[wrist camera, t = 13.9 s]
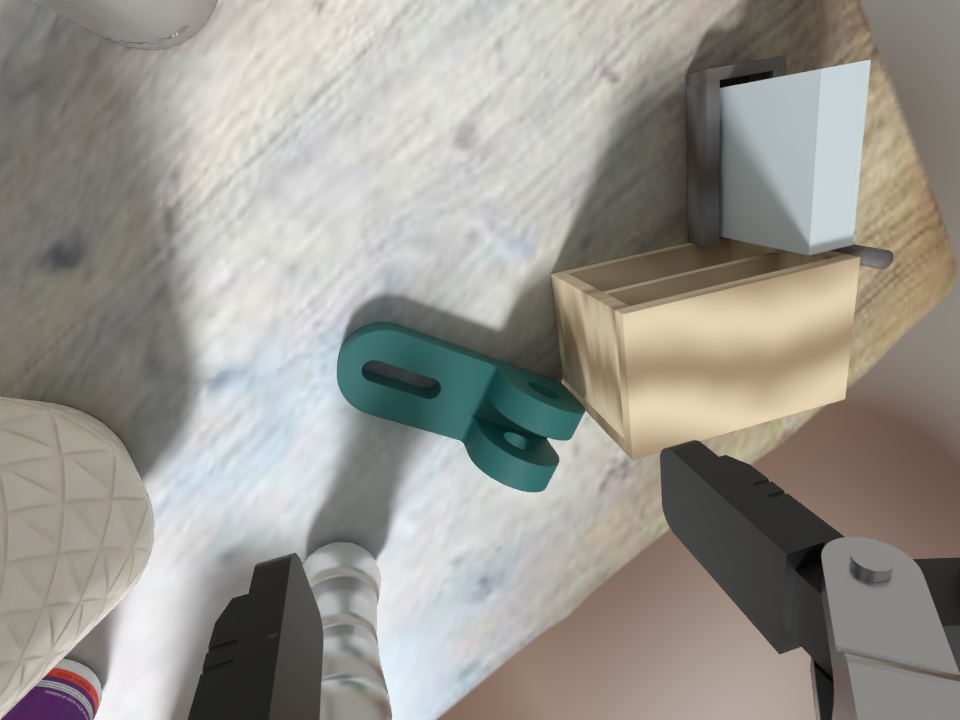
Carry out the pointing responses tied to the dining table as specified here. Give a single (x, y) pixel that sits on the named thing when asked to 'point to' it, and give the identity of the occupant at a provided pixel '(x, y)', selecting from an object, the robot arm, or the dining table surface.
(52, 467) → the vase
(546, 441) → the bracket
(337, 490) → the dining table surface
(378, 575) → the plastic bottle
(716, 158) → the wooden caddy
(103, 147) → the dining table surface
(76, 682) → the pill bottle
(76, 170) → the dining table surface
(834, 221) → the door
